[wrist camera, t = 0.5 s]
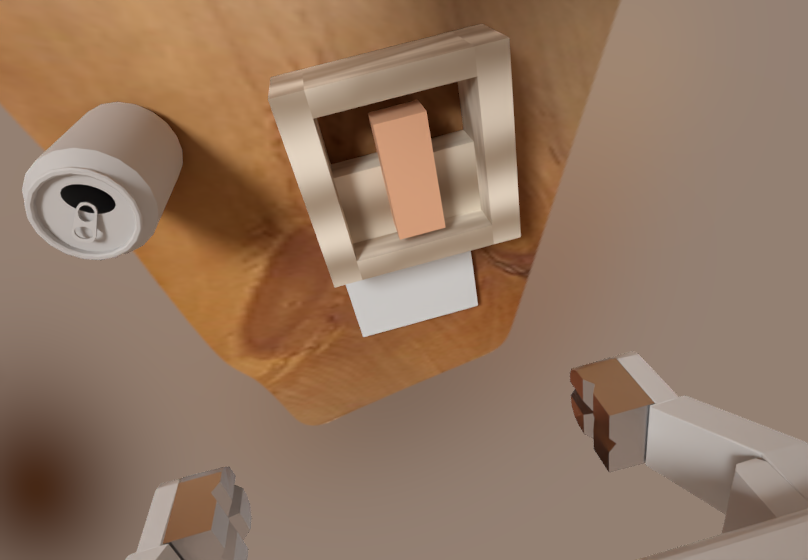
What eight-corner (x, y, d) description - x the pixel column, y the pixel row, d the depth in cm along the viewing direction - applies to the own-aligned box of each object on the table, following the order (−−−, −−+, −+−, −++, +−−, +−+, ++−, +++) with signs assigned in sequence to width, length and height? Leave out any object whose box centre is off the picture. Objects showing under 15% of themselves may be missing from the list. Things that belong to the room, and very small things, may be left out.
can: (191, 116, 39) (159, 179, 29) (178, 200, 42) (146, 280, 33) (81, 84, 36) (6, 142, 27) (77, 176, 40) (11, 256, 30)
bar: (367, 112, 38) (373, 125, 36) (417, 99, 38) (426, 111, 36) (393, 222, 44) (399, 239, 42) (437, 211, 44) (445, 227, 42)
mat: (340, 266, 49) (341, 272, 49) (466, 232, 50) (469, 237, 49) (362, 331, 55) (363, 337, 54) (475, 300, 55) (478, 305, 54)
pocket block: (270, 77, 38) (267, 99, 33) (482, 23, 39) (509, 37, 34) (330, 251, 48) (334, 287, 43) (497, 206, 49) (520, 236, 44)
